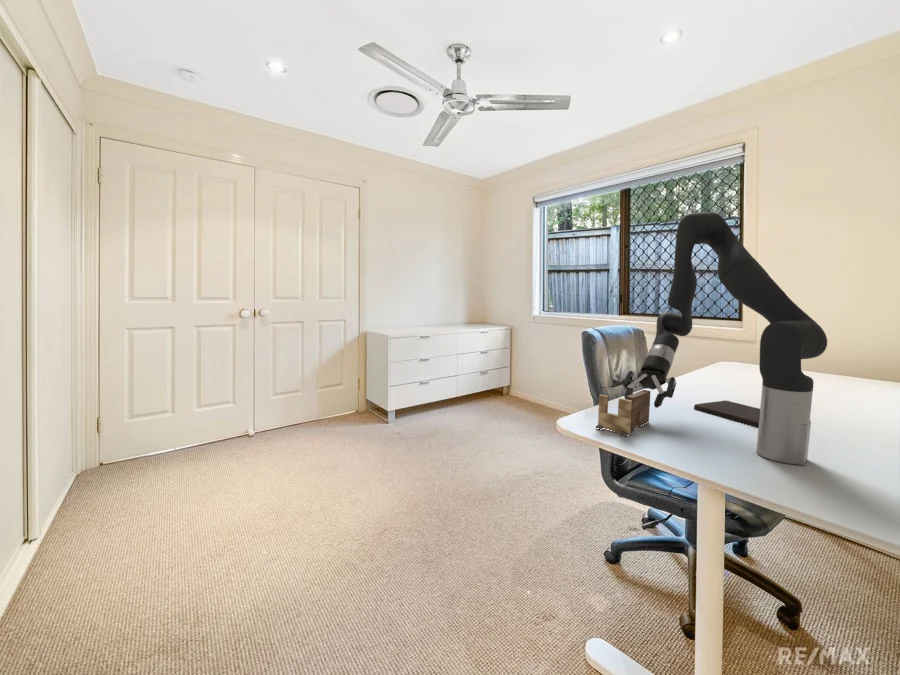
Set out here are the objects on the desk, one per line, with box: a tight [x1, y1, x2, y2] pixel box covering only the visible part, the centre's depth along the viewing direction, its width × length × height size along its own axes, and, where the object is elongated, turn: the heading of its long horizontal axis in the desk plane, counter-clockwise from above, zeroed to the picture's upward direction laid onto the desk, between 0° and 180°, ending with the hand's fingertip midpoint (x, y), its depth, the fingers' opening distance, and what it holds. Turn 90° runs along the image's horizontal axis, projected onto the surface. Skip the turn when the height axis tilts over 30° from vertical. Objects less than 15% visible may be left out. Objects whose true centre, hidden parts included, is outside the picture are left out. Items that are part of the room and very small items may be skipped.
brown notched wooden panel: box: [626, 389, 651, 431], centre depth 118 cm, size 2×12×10 cm, turn 132°
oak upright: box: [595, 394, 633, 437], centre depth 113 cm, size 9×4×10 cm, turn 42°
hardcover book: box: [693, 400, 760, 429], centre depth 128 cm, size 16×23×2 cm
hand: (641, 403), depth 119 cm, fingers open, 8 cm apart
